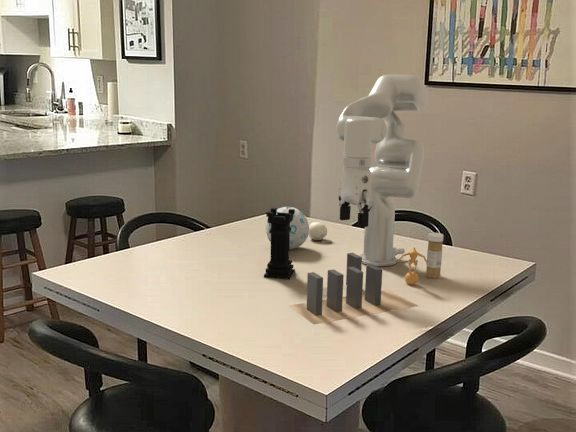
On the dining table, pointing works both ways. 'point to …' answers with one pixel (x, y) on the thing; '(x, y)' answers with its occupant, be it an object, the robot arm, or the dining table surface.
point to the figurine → (410, 277)
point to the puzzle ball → (294, 228)
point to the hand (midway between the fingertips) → (353, 223)
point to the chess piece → (280, 245)
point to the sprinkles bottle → (434, 255)
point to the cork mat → (387, 304)
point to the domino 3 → (354, 262)
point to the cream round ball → (317, 231)
